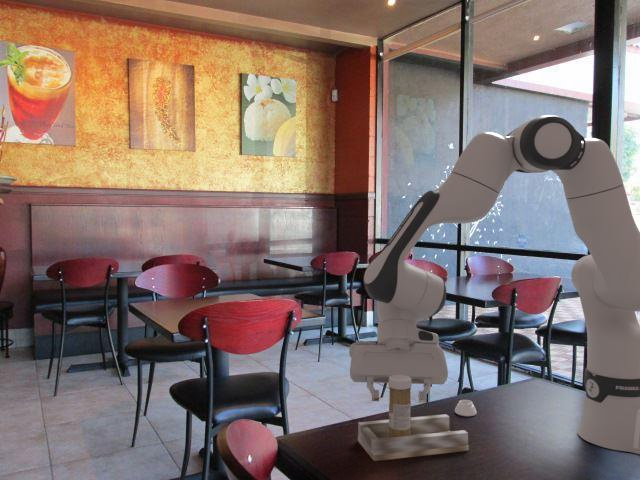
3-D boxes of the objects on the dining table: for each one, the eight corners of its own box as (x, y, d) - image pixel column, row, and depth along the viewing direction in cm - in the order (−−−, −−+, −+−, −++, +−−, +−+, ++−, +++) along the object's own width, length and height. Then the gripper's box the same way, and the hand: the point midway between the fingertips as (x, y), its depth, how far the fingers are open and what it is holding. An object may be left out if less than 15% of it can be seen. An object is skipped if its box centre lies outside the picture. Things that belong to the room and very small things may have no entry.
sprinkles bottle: (389, 437, 116) (389, 373, 116) (411, 439, 115) (412, 374, 115) (387, 446, 112) (387, 379, 111) (410, 448, 111) (410, 380, 110)
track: (445, 431, 122) (445, 413, 122) (468, 450, 112) (468, 430, 112) (357, 440, 117) (357, 422, 117) (374, 461, 107) (374, 440, 107)
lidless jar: (472, 419, 130) (479, 413, 134) (472, 406, 130) (479, 400, 134) (451, 414, 133) (459, 408, 137) (451, 402, 133) (459, 397, 137)
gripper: (349, 332, 121) (346, 391, 112) (445, 334, 119) (451, 394, 109) (350, 348, 125) (347, 406, 116) (442, 350, 123) (448, 409, 114)
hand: (398, 400), depth 113 cm, fingers open, 8 cm apart
